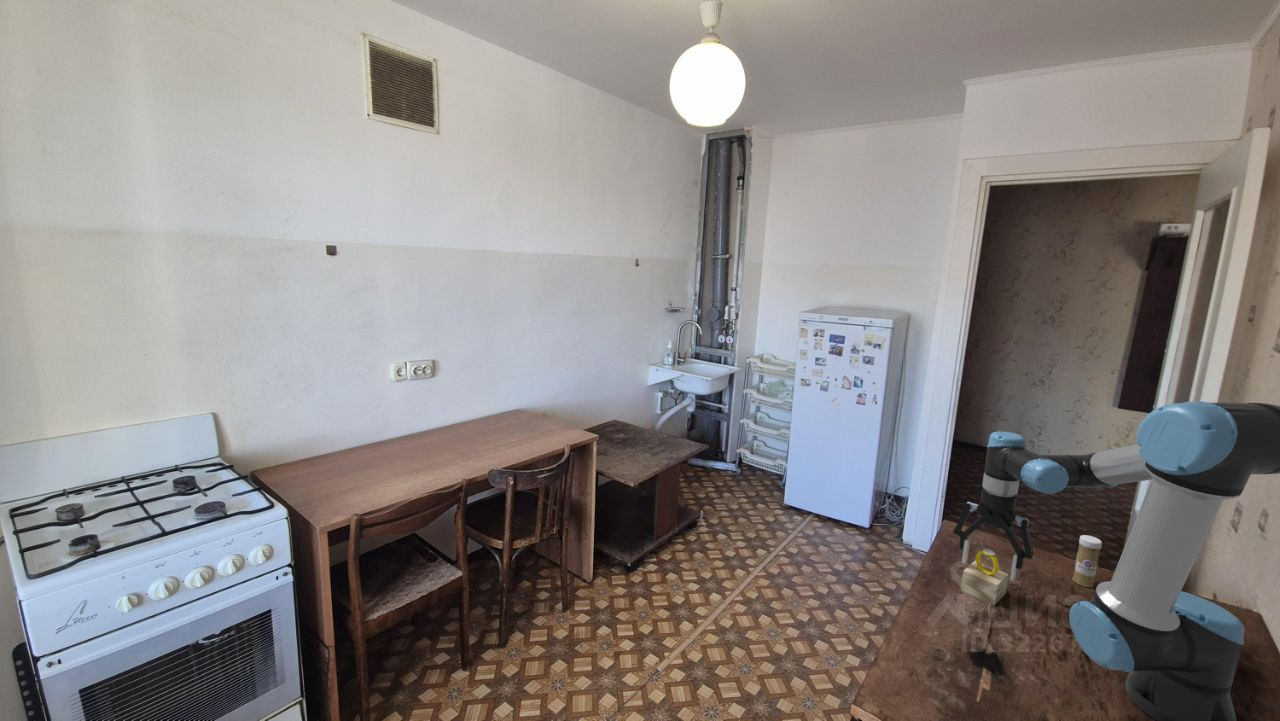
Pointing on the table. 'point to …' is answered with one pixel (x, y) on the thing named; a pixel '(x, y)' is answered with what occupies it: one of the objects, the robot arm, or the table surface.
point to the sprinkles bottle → (1087, 560)
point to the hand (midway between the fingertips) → (987, 569)
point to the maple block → (984, 583)
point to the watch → (992, 555)
